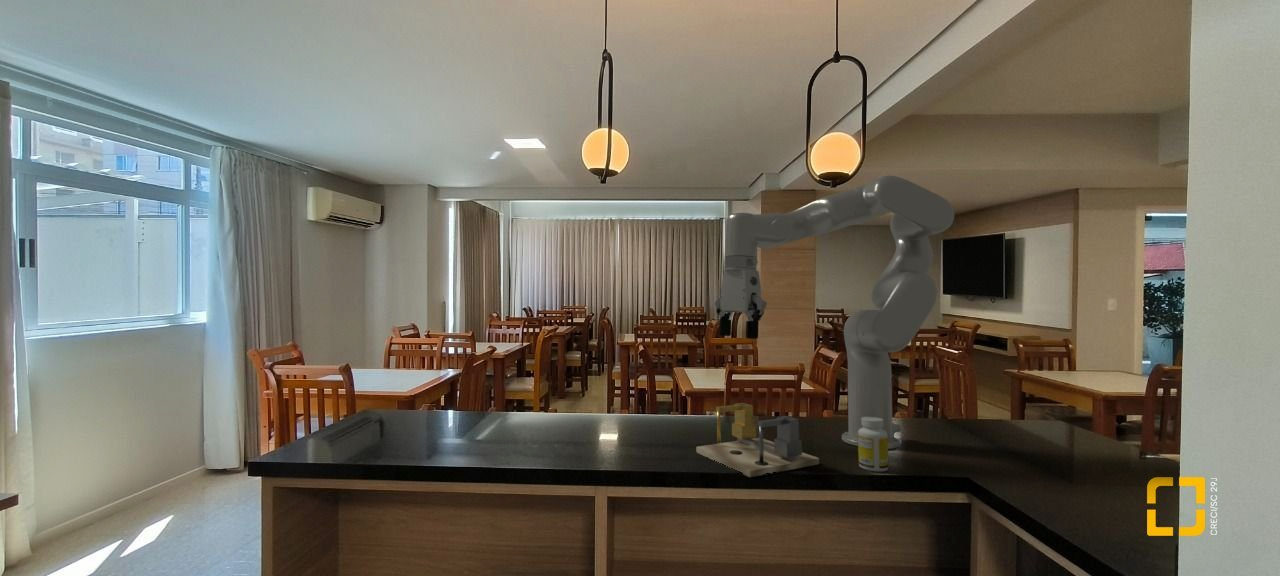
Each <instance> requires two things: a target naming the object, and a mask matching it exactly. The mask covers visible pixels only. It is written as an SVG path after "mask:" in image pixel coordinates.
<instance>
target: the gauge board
mask: <svg viewBox="0 0 1280 576" xmlns="http://www.w3.org/2000/svg"><path fill="white" fill-rule="evenodd" d="M695 449H696V453H697V454H699V455H701V456H703V457H705V458H707V457H708V459H709V460H712V461H714V460H715V461H714V462H716V461H717V462H716V463H718V462H719V463H718V464H720V463H722V464H724V465H726V466H725V467H727V466H728V467H727V468H729V467H730V468H729V469H731V468H733V469H735V470H737V471H740V472H742V473H743V474H742V475H744V476H746V477H748V478H754V477H758V476H764V474H765V475H767V474H766V473H770V474H774V473H773V472H776V473H780V471H781V472H785V471H790V470H796V469H801V468H802V469H803V468H806V467H807V468H808V467H811V466H816V465H819V464H820V457H817V456H814V455H811V454H808V453H805V452H803V451H802V455H799V456H793V457H784V456H782V455H779V454H776V453H774V441H772V440H768V439H765V438H763V453H764V463H759V437H754V438H747V439H740V438H737V440H734V441H728V442H721V443H714V444H713V443H712V444H706V445H705V444H704V445H701V446H700V445H698V446H696V447H695ZM722 464H721V465H722ZM724 465H723V466H724ZM733 469H732V470H733ZM735 470H734V471H735ZM737 471H736V472H737Z"/></svg>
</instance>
